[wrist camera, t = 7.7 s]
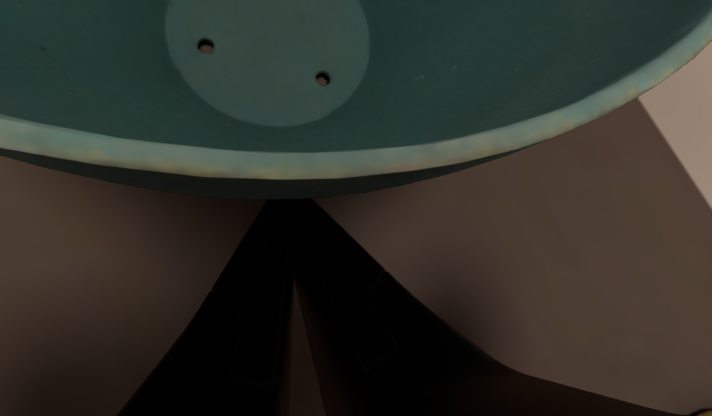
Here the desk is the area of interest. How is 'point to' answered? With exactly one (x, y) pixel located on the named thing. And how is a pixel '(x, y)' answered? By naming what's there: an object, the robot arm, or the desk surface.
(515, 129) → the teal bowl
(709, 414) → the vase
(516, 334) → the desk surface
